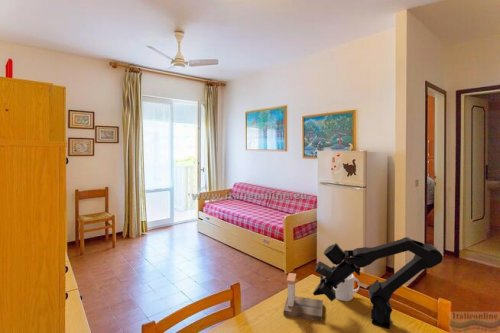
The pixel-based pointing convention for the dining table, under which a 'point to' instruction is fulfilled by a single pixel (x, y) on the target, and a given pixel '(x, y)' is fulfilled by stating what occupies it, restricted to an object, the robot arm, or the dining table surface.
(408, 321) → the dining table surface
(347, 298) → the mug
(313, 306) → the fader console
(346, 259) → the robot arm
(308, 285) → the dining table surface
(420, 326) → the dining table surface
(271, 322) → the dining table surface
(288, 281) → the fader tab
